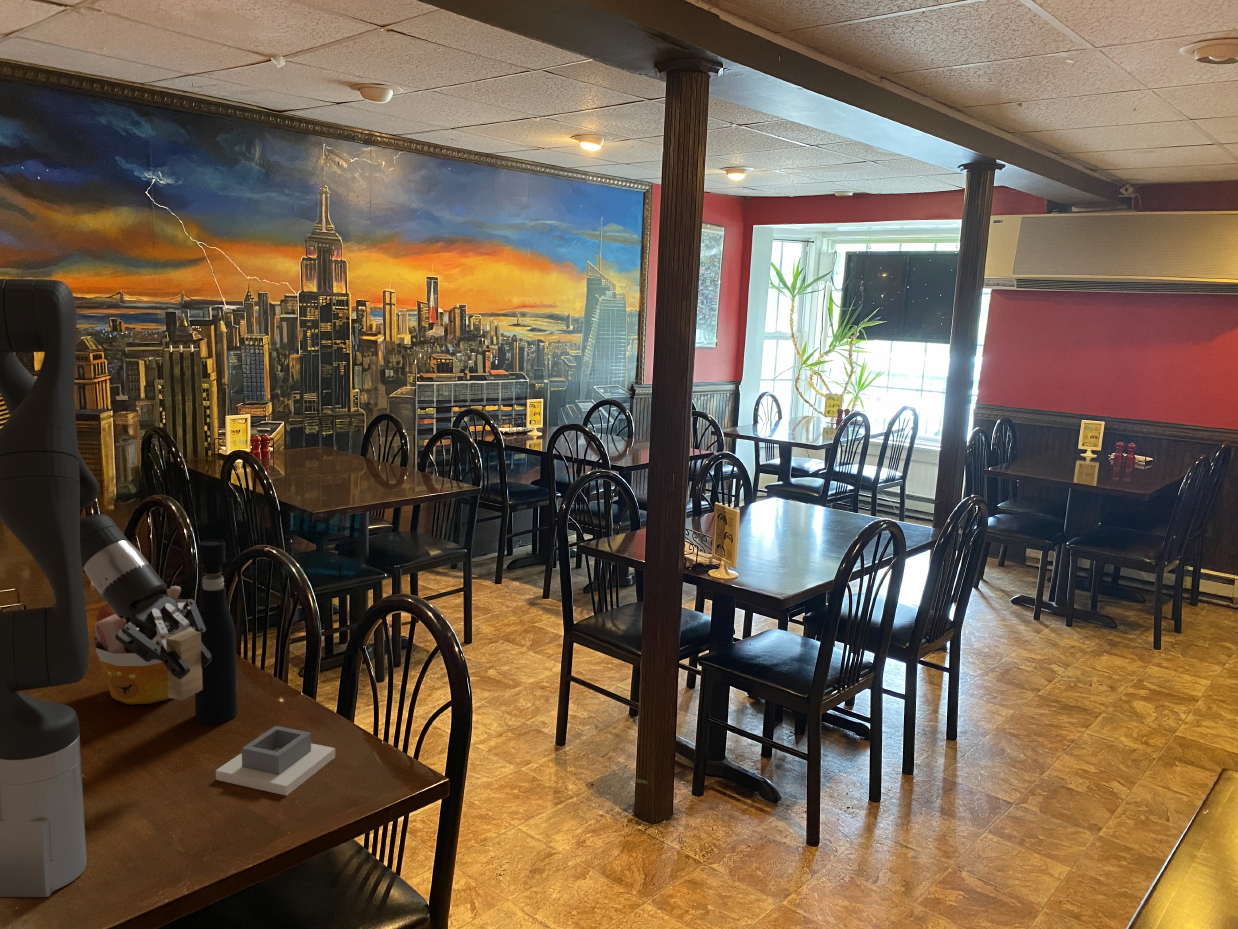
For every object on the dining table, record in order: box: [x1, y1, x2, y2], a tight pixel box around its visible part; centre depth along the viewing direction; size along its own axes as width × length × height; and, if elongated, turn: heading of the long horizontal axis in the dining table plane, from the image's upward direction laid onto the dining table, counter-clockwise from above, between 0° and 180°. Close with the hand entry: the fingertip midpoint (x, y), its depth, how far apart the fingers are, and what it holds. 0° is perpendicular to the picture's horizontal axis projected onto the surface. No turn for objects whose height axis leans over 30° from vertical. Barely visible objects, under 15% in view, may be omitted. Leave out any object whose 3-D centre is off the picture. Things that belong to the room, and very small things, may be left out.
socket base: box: [215, 725, 336, 797], centre depth 137 cm, size 12×12×4 cm
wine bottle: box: [194, 539, 238, 725], centre depth 150 cm, size 6×6×30 cm
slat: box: [167, 630, 203, 701], centre depth 134 cm, size 2×4×9 cm, turn 164°
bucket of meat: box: [93, 585, 189, 706], centre depth 159 cm, size 20×16×20 cm
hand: (196, 669), depth 133 cm, fingers closed on slat, 4 cm apart
